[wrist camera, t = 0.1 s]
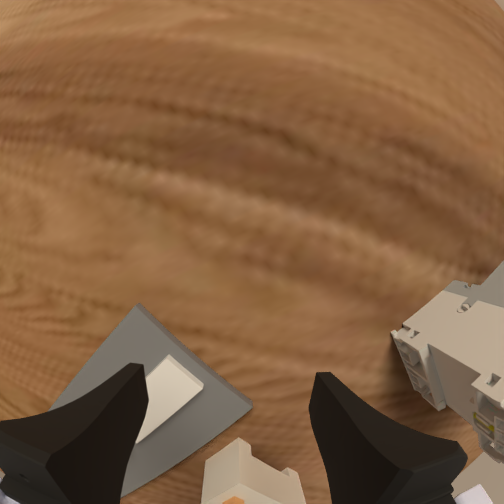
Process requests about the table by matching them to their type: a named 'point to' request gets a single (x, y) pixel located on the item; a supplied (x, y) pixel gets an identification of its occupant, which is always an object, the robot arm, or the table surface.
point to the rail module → (247, 479)
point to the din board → (161, 395)
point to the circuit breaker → (461, 355)
